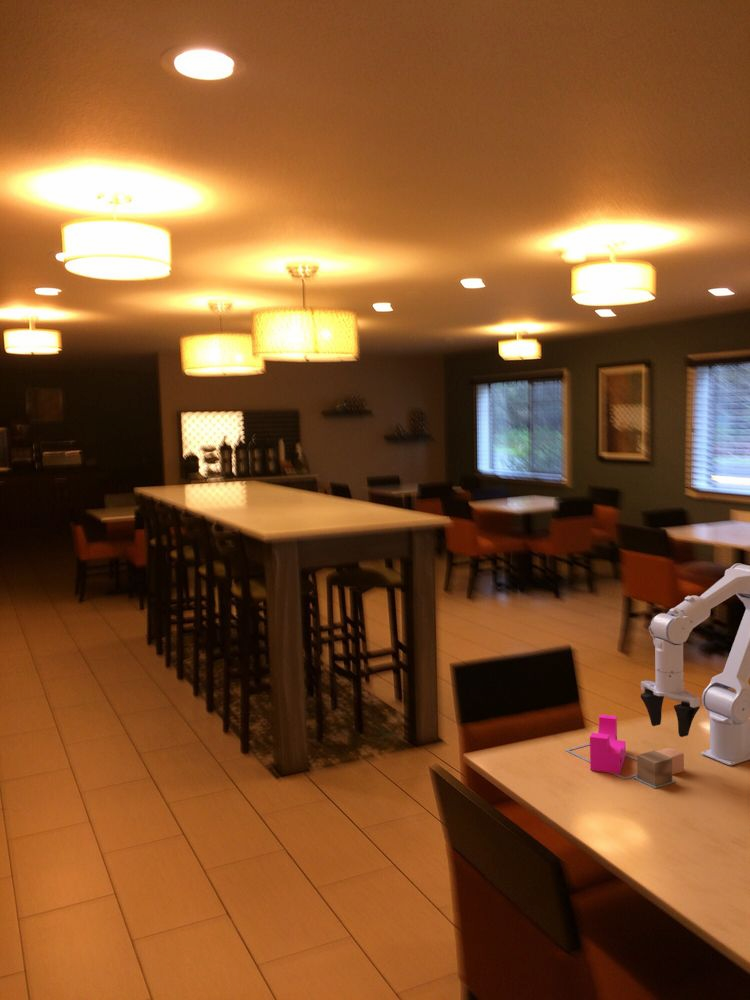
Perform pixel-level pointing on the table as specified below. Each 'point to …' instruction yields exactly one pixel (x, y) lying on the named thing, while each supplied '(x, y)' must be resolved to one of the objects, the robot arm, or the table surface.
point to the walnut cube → (654, 768)
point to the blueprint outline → (617, 774)
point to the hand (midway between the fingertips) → (669, 730)
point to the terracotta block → (674, 759)
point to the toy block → (607, 747)
